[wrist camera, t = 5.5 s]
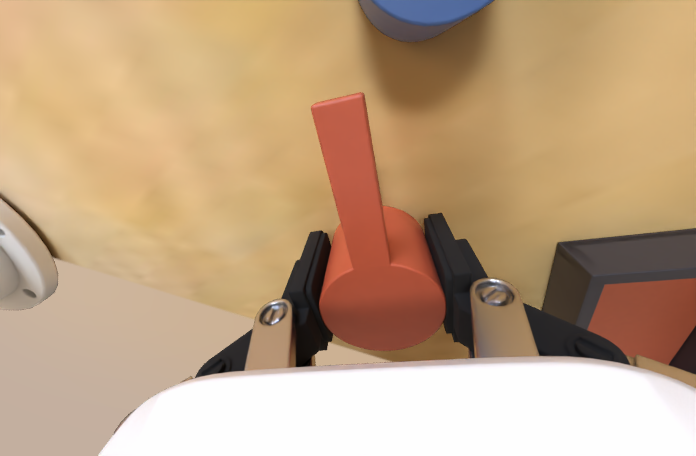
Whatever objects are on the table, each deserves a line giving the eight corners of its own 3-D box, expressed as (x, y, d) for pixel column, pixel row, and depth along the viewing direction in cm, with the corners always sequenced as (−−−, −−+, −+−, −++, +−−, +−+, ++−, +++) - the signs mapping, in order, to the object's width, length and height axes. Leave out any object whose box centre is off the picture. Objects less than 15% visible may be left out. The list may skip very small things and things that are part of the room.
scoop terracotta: (343, 284, 14) (335, 354, 10) (289, 102, 9) (243, 121, 6) (428, 275, 13) (448, 348, 10) (413, 73, 9) (441, 75, 5)
